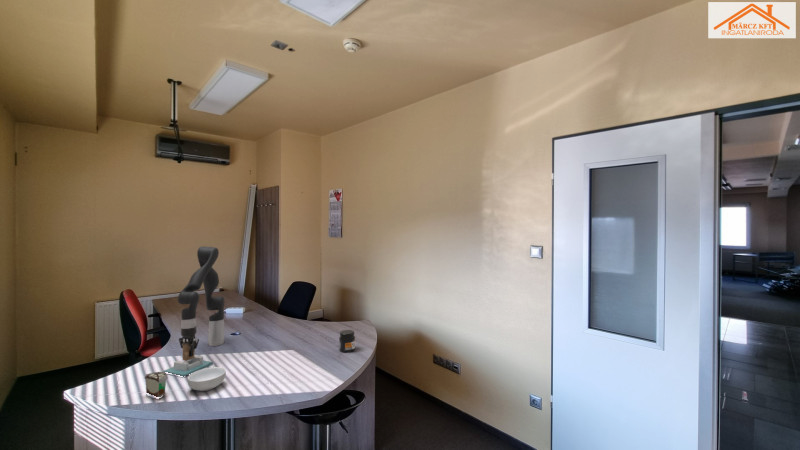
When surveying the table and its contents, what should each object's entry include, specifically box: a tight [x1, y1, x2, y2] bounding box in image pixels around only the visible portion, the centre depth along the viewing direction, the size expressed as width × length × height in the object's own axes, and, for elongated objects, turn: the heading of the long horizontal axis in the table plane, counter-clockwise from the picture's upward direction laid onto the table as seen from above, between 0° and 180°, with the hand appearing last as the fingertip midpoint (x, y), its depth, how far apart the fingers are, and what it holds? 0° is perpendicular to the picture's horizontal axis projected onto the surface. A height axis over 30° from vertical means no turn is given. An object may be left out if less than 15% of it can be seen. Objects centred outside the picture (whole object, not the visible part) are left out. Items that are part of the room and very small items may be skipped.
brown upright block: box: [182, 342, 196, 361], centre depth 187 cm, size 3×5×10 cm, turn 161°
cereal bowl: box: [187, 366, 227, 392], centre depth 164 cm, size 17×17×7 cm
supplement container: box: [338, 329, 356, 354], centre depth 213 cm, size 10×10×12 cm
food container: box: [144, 371, 169, 397], centre depth 157 cm, size 12×6×10 cm, turn 65°
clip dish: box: [162, 355, 214, 378], centre depth 186 cm, size 16×18×6 cm
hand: (188, 355), depth 186 cm, fingers closed on brown upright block, 3 cm apart
